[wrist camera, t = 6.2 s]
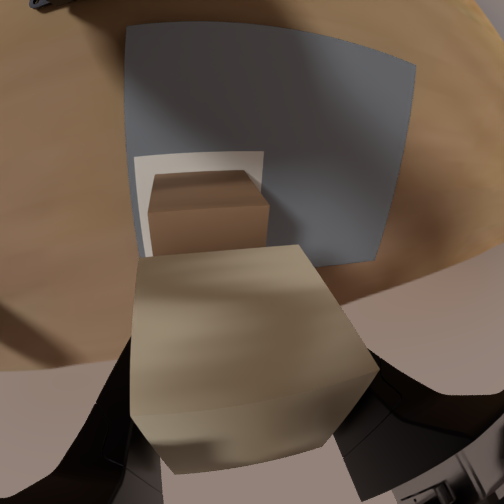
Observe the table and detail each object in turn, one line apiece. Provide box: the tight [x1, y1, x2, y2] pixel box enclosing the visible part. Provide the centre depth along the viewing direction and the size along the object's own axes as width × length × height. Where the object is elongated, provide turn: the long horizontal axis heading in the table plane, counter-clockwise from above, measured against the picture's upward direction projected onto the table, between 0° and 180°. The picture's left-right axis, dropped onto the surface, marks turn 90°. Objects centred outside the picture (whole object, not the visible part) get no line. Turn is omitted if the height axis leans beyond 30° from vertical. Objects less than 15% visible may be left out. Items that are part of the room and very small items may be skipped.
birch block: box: [130, 244, 380, 474], centre depth 8 cm, size 5×5×5 cm
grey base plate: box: [124, 21, 416, 267], centre depth 17 cm, size 16×18×1 cm
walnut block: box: [147, 170, 270, 256], centre depth 15 cm, size 5×5×5 cm
